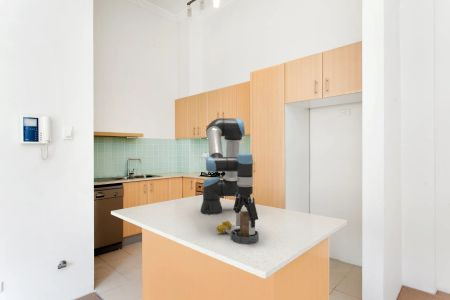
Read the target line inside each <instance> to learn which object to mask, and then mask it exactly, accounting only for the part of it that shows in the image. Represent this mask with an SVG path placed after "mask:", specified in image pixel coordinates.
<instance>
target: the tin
mask: <svg viewBox="0 0 450 300" xmlns="http://www.w3.org/2000/svg"><path fill="white" fill-rule="evenodd" d="M233 231H235V232H236V233H237V236H236V234H235V232H233ZM259 234H260V233H259V231H258V230H256V229H255V234H252V235H250V237H242V233H240V228H235V229H232V230H231V234H230V240H231V241H232V243H236V244H240V245H252V244H256V243H258V242H259V240H260V239H259Z"/></svg>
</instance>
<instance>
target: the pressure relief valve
mask: <svg viewBox="0 0 450 300" xmlns="http://www.w3.org/2000/svg"><path fill="white" fill-rule="evenodd" d="M232 224H233V223H231V222H230V221H229V220H225V221H222V223H221V224H218V225H217V226H216V231H217V232H218V233H219V234H221V235H222V234H223V235H224V232H226V233H227V234H230V235H231V231H233V230H232V227H233V225H232ZM233 232H235V231H233ZM235 234H236V236H237V233H236V232H235Z"/></svg>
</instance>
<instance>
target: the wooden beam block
mask: <svg viewBox="0 0 450 300" xmlns="http://www.w3.org/2000/svg"><path fill="white" fill-rule="evenodd" d="M239 213H240V226H239V229H240V233H242V237H250V235H249V219H250V218H249V215H248V212H247V210H243V211H242V210H241V212H239Z"/></svg>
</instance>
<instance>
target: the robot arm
mask: <svg viewBox="0 0 450 300" xmlns="http://www.w3.org/2000/svg"><path fill="white" fill-rule="evenodd" d="M245 130H246V129H245V123H244V120H243V119H241V118H234V117H233V118H225V117H224V118H222V117H221V118H216V119H214V120H212V121H211V122H210V123H209V124H208V125H207V127H206V133H205V134H206V137H207V140H208V141H207V143H208V156H209V157H208V156H207V157H206V158H205V170H206V172H213V173H216V172H217V173H219V172H220V173H221V172H224V173H225V174H224V175H223V178H222V179H221V178H220V177H218V176H217V177H209V178H205V179H204V180H203V181H202V185H203V186H202V203H201V207H200V213H201V214H205V215H218V214H222V213H223V207H222V203H221V197H235V200H234V205H233V211H234V213H235V227H240V212H242V209H243V206H244V207H245V208H246V211H247V212H248V215H249V218H250V219H249V235H252V234H255V230H256V221H257V220H259V217H258V212H257V208H256V203H255V202H256V201H255V197H251V195H252V194H253V193H254V192H253V191H254V190H253V189H254V187H253V184H254V183H253V182H254V180H253V179H254V177H253V168H254V167H253V166H254V164H253V162H254V160H253V154H252V153H240V142H241V141H242V140H243V137H245V136H246V135H245V134H246V131H245ZM222 137H223V138H224V141H225V142H226V144H225V145H226V147H225V149H226V150H225V156H224V152H223V147H222Z"/></svg>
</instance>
